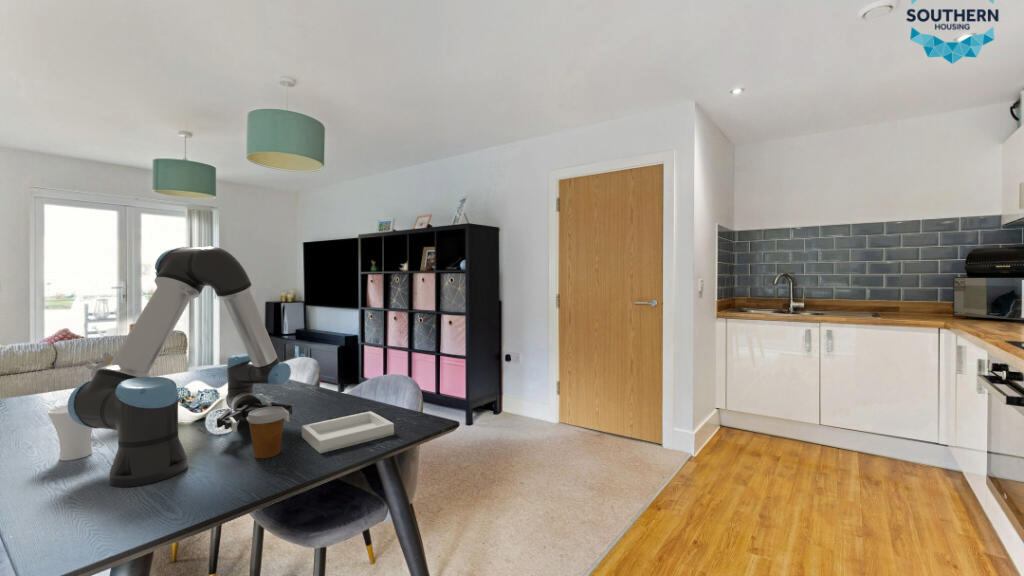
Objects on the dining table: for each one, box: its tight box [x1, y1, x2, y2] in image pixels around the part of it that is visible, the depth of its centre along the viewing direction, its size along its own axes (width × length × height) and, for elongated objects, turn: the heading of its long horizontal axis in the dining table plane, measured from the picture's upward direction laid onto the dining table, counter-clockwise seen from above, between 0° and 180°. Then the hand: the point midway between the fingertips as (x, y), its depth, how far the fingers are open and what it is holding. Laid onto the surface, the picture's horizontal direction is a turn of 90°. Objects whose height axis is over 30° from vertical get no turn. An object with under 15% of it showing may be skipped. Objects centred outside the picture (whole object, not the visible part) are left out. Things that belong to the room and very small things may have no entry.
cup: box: [46, 404, 94, 462], centre depth 122 cm, size 10×10×14 cm
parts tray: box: [301, 411, 395, 454], centre depth 136 cm, size 22×17×4 cm
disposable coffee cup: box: [247, 407, 286, 459], centre depth 123 cm, size 10×10×12 cm
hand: (262, 421), depth 129 cm, fingers open, 13 cm apart
